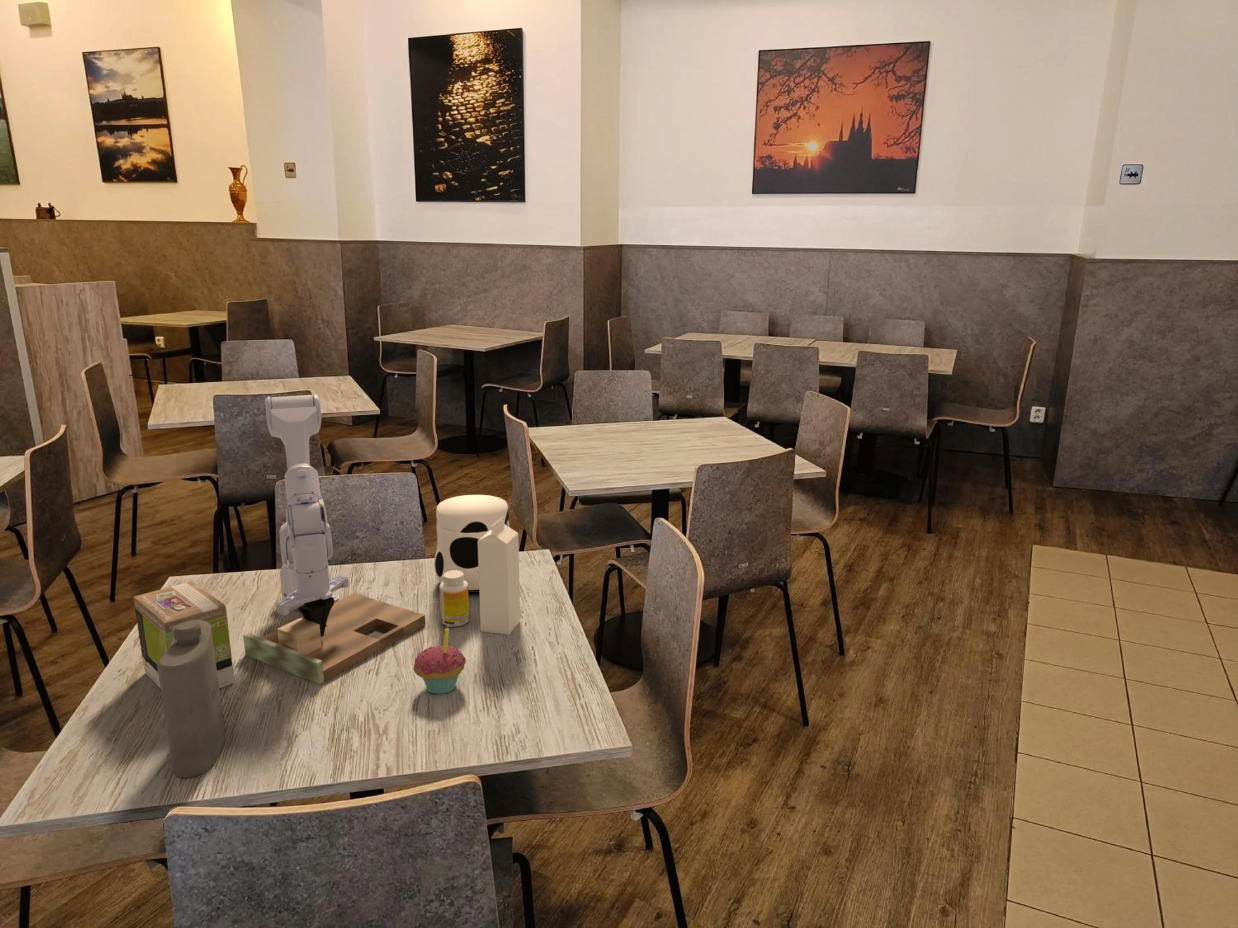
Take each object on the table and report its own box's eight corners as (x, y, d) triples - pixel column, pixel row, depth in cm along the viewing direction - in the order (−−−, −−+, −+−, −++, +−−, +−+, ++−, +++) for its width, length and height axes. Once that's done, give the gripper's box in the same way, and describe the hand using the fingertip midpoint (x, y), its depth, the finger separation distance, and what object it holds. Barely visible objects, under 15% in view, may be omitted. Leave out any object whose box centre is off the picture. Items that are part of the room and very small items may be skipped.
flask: (216, 773, 115) (198, 647, 110) (170, 781, 113) (150, 653, 108) (230, 716, 129) (215, 601, 123) (189, 722, 127) (172, 606, 122)
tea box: (237, 683, 138) (227, 604, 134) (174, 706, 131) (162, 623, 127) (203, 652, 148) (192, 578, 144) (142, 673, 141) (130, 595, 137)
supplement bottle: (474, 622, 161) (473, 575, 158) (449, 630, 158) (447, 582, 155) (461, 612, 165) (459, 566, 162) (436, 620, 162) (433, 572, 159)
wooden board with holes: (245, 654, 148) (243, 634, 146) (355, 601, 169) (353, 584, 168) (319, 684, 138) (317, 663, 137) (425, 624, 160) (424, 605, 159)
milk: (480, 631, 157) (475, 525, 151) (492, 617, 163) (488, 514, 157) (510, 635, 156) (506, 527, 150) (521, 621, 162) (517, 517, 156)
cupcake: (475, 679, 140) (472, 616, 137) (449, 704, 133) (446, 638, 129) (432, 670, 143) (428, 608, 140) (404, 694, 135) (400, 629, 132)
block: (279, 651, 145) (277, 628, 144) (302, 639, 149) (300, 617, 148) (298, 658, 142) (296, 635, 141) (321, 646, 147) (319, 624, 145)
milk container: (450, 564, 189) (447, 491, 184) (522, 569, 187) (521, 495, 182) (423, 595, 173) (419, 516, 168) (502, 601, 170) (499, 520, 166)
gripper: (292, 586, 137) (300, 657, 141) (358, 558, 150) (363, 624, 153) (265, 577, 141) (273, 647, 144) (331, 550, 153) (337, 616, 157)
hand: (317, 635), depth 149 cm, fingers closed
